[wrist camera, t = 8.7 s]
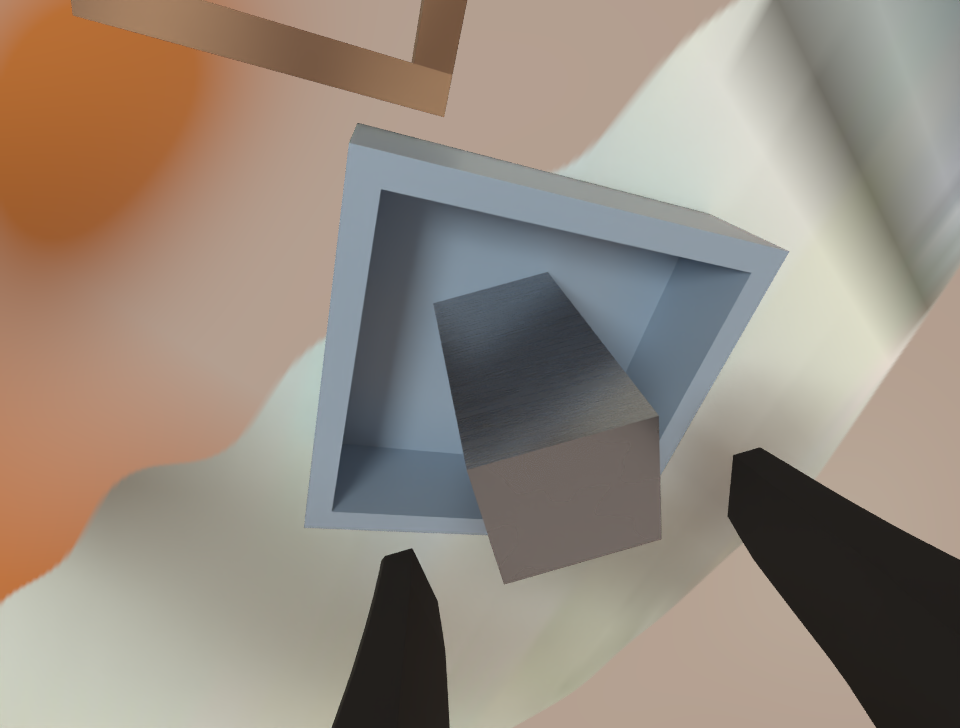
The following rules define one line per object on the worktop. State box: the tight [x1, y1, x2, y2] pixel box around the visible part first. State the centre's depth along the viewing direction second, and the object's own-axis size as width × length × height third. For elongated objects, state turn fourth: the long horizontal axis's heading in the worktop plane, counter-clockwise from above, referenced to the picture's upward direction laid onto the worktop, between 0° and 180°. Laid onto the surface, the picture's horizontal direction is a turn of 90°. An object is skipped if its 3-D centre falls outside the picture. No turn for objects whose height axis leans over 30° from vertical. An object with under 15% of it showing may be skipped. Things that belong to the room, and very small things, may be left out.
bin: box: [304, 123, 789, 535], centre depth 17 cm, size 12×12×4 cm
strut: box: [433, 272, 661, 584], centre depth 14 cm, size 4×4×8 cm
